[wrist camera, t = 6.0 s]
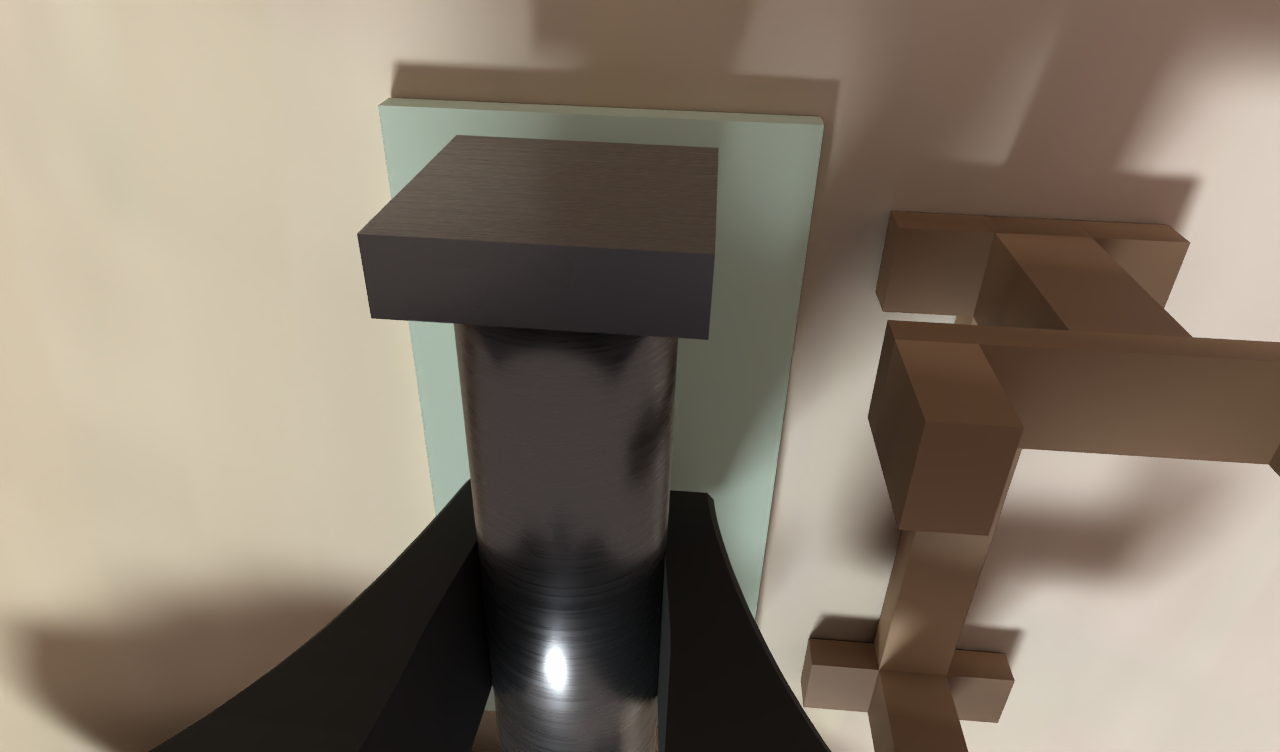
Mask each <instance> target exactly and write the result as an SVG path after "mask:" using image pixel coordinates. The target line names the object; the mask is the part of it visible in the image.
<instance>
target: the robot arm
mask: <svg viewBox="0 0 1280 752" xmlns="http://www.w3.org/2000/svg"><path fill="white" fill-rule="evenodd" d="M492 685H493V682H492V673H491V664H490V655H489V645H488V636H487V627H486V618H485V609H484V599H483V590H482V581H481V572H480V562H479V553H478V544H477V535H476V526H475V516H474V507H473V498H472V489H471V480H470V479H469V480H468V481H466V482H465V484H464V485H463V486H462V487H461V488H460V489H459V491H458V492H457V493H456V494H455V495H454V496H453V498H452V499H451V500H450V501H449V502H448V503H447V504H446V506H445V507H444V508H443V509H442V510H441V511H440V512H439V514H438V515H437V516H436V517H435V518H434V519H433V520H432V521H431V523H430V524H429V525H428V526H427V527H426V528H425V529H424V530H423V531H422V532H421V534H420V535H419V536H418V537H417V538H416V539H415V540H414V541H413V542H412V543H411V544H410V545H409V546H408V547H407V548H406V549H405V550H404V552H403V553H402V554H401V555H400V556H399V557H398V558H397V559H396V560H395V561H394V562H393V563H392V564H391V565H390V566H389V567H388V568H387V569H386V570H385V571H384V572H383V573H382V574H381V575H380V576H379V577H378V578H377V579H376V580H375V581H374V582H373V583H372V584H371V585H370V586H369V587H368V588H367V589H365V590H364V591H363V592H362V593H361V594H360V595H359V596H358V597H357V598H356V599H355V600H354V601H353V602H352V603H351V604H350V605H348V606H347V607H346V608H345V609H344V610H343V611H342V612H341V613H340V614H339V615H338V616H337V617H335V618H334V619H333V620H332V621H331V622H330V623H329V624H327V625H326V626H325V627H324V628H323V629H322V630H320V631H319V632H318V633H317V634H316V635H315V636H313V637H312V638H311V639H310V640H309V641H307V642H306V643H305V644H304V645H302V646H301V647H300V648H299V649H297V650H296V651H295V652H294V653H292V654H291V655H290V656H289V657H287V658H286V659H285V660H284V661H282V662H281V663H280V664H279V665H277V666H276V667H275V668H273V669H272V670H270V671H269V672H268V673H266V674H265V675H264V676H262V677H261V678H260V679H258V680H257V681H255V682H254V683H253V684H251V685H250V686H249V687H247V688H246V689H244V690H243V691H242V692H240V693H239V694H237V695H236V696H235V697H233V698H232V699H230V700H229V701H227V702H226V703H225V704H223V705H222V706H220V707H219V708H217V709H216V710H215V711H213V712H212V713H210V714H209V715H207V716H206V717H204V718H202V719H201V720H199V721H198V722H196V723H195V724H193V725H191V726H190V727H188V728H187V729H185V730H183V731H182V732H180V733H179V734H177V735H175V736H174V737H172V738H171V739H169V740H167V741H166V742H164V743H162V744H161V745H159V746H157V747H156V748H154V749H152V750H151V751H149V752H470V751H471V748H472V745H473V742H474V739H475V736H476V733H477V730H478V727H479V724H480V721H481V718H482V715H483V712H484V709H485V706H486V703H487V700H488V697H489V694H490V691H491V688H492ZM657 700H658V741H659V752H831V751H830V749H829V748H828V747H827V745H826V744H825V742H824V741H823V739H822V738H821V736H820V734H819V733H818V731H817V730H816V728H815V727H814V725H813V724H812V722H811V721H810V719H809V718H808V716H807V714H806V713H805V711H804V710H803V708H802V706H801V705H800V703H799V701H798V700H797V698H796V696H795V695H794V693H793V691H792V690H791V688H790V686H789V685H788V683H787V681H786V680H785V678H784V676H783V674H782V672H781V671H780V669H779V667H778V665H777V663H776V662H775V660H774V658H773V656H772V654H771V652H770V650H769V648H768V646H767V644H766V642H765V640H764V638H763V636H762V634H761V632H760V630H759V628H758V626H757V624H756V622H755V620H754V618H753V615H752V613H751V611H750V609H749V607H748V604H747V602H746V600H745V597H744V595H743V592H742V590H741V588H740V585H739V583H738V581H737V578H736V576H735V573H734V571H733V568H732V565H731V563H730V560H729V557H728V554H727V551H726V548H725V545H724V542H723V539H722V535H721V532H720V528H719V524H718V521H717V516H716V511H715V505H714V499H713V498H712V497H711V496H710V495H709V494H708V493H703V492H689V491H674V490H670V497H669V515H668V533H667V546H666V551H665V563H664V582H663V600H662V619H661V638H660V656H659V675H658V694H657Z"/></svg>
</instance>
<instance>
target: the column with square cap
mask: <svg viewBox="0 0 1280 752" xmlns="http://www.w3.org/2000/svg"><path fill="white" fill-rule="evenodd" d="M718 151H719V148H712V147H692V146H672V145H652V144H632V143H611V142H591V141H571V140H551V139H531V138H511V137H490V136H470V135H456V136H455V137H454V138H453V139H452V140H451V141H450V142H449V143H448V144H447V145H446V146H445V147H444V148H443V149H442V150H441V151H440V152H439V153H438V154H437V155H436V156H435V157H434V158H433V159H432V160H431V161H430V162H429V163H428V164H427V165H426V166H425V167H424V168H423V169H422V170H421V171H420V172H419V173H418V174H417V175H416V176H415V177H414V178H413V179H412V180H411V181H410V182H409V183H408V184H407V185H406V186H405V187H404V188H403V189H402V190H401V191H400V192H399V193H398V194H397V195H396V196H395V197H394V198H393V199H392V200H391V201H390V202H389V203H388V204H387V205H386V206H385V207H384V208H383V209H382V210H381V211H380V212H379V213H378V214H377V215H376V216H375V217H374V218H373V219H372V220H371V221H370V222H369V223H368V224H367V225H366V226H365V227H364V228H363V229H362V230H361V231H360V232H359V233H358V234H357V236H358V242H359V248H360V254H361V259H362V265H363V271H364V277H365V283H366V289H367V295H368V301H369V307H370V313H371V318H376V319H391V320H407V321H422V322H437V323H453V324H454V332H455V341H456V351H457V360H458V369H459V378H460V387H461V397H462V406H463V415H464V424H465V434H466V443H467V452H468V461H469V470H470V480H471V489H472V498H473V507H474V516H475V526H476V535H477V544H478V553H479V562H480V572H481V581H482V590H483V599H484V609H485V618H486V627H487V636H488V645H489V655H490V664H491V673H492V682H493V691H494V701H495V710H496V719H497V728H498V737H499V747H500V752H656V734H657V716H658V700H657V694H658V675H659V656H660V638H661V619H662V600H663V582H664V563H665V551H666V546H667V533H668V515H669V497H670V478H671V460H672V442H673V424H674V405H675V387H676V369H677V350H678V338H685V339H701V340H709V327H710V314H711V301H712V288H713V275H714V262H715V241H716V211H717V181H718Z"/></svg>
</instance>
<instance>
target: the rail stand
mask: <svg viewBox="0 0 1280 752" xmlns="http://www.w3.org/2000/svg"><path fill="white" fill-rule="evenodd" d="M1189 245H1190V242H1189V241H1188V240H1186V239H1185V238H1184V237H1183V236H1181V235H1180V234H1179V233H1178V232H1176V231H1175V230H1174V229H1173V228H1171V227H1170V226H1169V225H1158V224H1138V223H1118V222H1098V221H1078V220H1058V219H1038V218H1018V217H997V216H977V215H957V214H937V213H917V212H897V211H891V214H890V220H889V225H888V230H887V235H886V240H885V246H884V251H883V256H882V261H881V266H880V272H879V277H878V282H877V287H876V295H877V297H878V300H879V303H880V305H881V308H882V311H884V312H902V313H919V314H937V315H955V316H957V317H956V321H955V324H947V323H929V322H912V321H894V320H888V321H887V326H886V331H885V336H884V341H883V346H882V350H881V355H880V360H879V365H878V370H877V375H876V380H875V385H874V389H873V394H872V399H871V404H870V409H869V414H868V420H869V424H870V427H871V431H872V435H873V438H874V442H875V446H876V449H877V453H878V456H879V460H880V464H881V467H882V471H883V475H884V478H885V482H886V486H887V489H888V493H889V497H890V500H891V504H892V508H893V511H894V515H895V519H896V522H897V526H898V529H899V530H902V534H901V538H900V542H899V546H898V550H897V553H896V557H895V561H894V565H893V569H892V573H891V577H890V581H889V585H888V589H887V593H886V597H885V601H884V605H883V609H882V612H881V616H880V620H879V624H878V628H877V632H876V636H875V640H874V644H873V643H860V642H848V641H835V640H822V639H809V640H808V646H807V651H806V656H805V661H804V666H803V672H802V677H801V687H802V697H803V706H804V707H811V708H823V709H835V710H847V711H859V712H868V716H869V722H870V728H871V733H872V739H873V744H874V750H875V752H968V749H967V746H966V742H965V739H964V735H963V732H962V728H961V725H960V721H959V720H968V721H981V722H993V723H998V721H999V719H1000V716H1001V714H1002V711H1003V709H1004V706H1005V704H1006V701H1007V699H1008V696H1009V694H1010V691H1011V689H1012V686H1013V684H1014V678H1013V675H1012V672H1011V670H1010V667H1009V664H1008V661H1007V659H1006V656H1005V654H1002V653H989V652H976V651H963V650H955V648H956V645H957V642H958V639H959V636H960V633H961V630H962V627H963V624H964V621H965V618H966V615H967V612H968V609H969V606H970V603H971V600H972V597H973V594H974V591H975V588H976V585H977V582H978V579H979V576H980V573H981V570H982V567H983V564H984V561H985V558H986V555H987V552H988V549H989V546H990V543H991V540H992V537H993V534H994V531H995V528H996V525H997V522H998V519H999V516H1000V513H1001V510H1002V507H1003V504H1004V501H1005V498H1006V495H1007V492H1008V489H1009V486H1010V483H1011V480H1012V477H1013V474H1014V471H1015V468H1016V465H1017V462H1018V459H1019V456H1020V453H1021V450H1022V449H1038V450H1053V451H1069V452H1084V453H1100V454H1115V455H1131V456H1146V457H1162V458H1177V459H1193V460H1208V461H1223V462H1239V463H1254V464H1269V465H1270V467H1271V468H1272V469H1273V470H1274V471H1275V472H1276V473H1277V474H1278V475H1279V476H1280V342H1264V341H1246V340H1228V339H1211V338H1193V337H1192V336H1191V335H1190V334H1189V333H1188V332H1187V331H1186V330H1185V329H1184V328H1183V327H1182V326H1181V325H1180V324H1179V323H1178V322H1177V321H1176V320H1175V319H1174V318H1173V317H1172V316H1171V315H1170V314H1169V313H1168V312H1167V311H1166V310H1165V309H1164V307H1165V305H1166V302H1167V300H1168V297H1169V295H1170V292H1171V290H1172V287H1173V285H1174V282H1175V280H1176V277H1177V275H1178V272H1179V270H1180V267H1181V265H1182V262H1183V260H1184V257H1185V255H1186V252H1187V250H1188V247H1189Z"/></svg>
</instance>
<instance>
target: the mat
mask: <svg viewBox="0 0 1280 752" xmlns="http://www.w3.org/2000/svg"><path fill="white" fill-rule="evenodd" d="M378 107H379V114H380V121H381V128H382V135H383V142H384V149H385V157H386V164H387V171H388V178H389V185H390V192H391V199H393V198H394V197H395V196H396V195H397V194H398V193H399V192H400V191H401V190H402V189H403V188H404V187H405V186H406V185H407V184H408V183H409V182H410V181H411V180H412V179H413V178H414V177H415V176H416V175H417V174H418V173H419V172H420V171H421V170H422V169H423V168H424V167H425V166H426V165H427V164H428V163H429V162H430V161H431V160H432V159H433V158H434V157H435V156H436V155H437V154H438V153H439V152H440V151H441V150H442V149H443V148H444V147H445V146H446V145H447V144H448V143H449V142H450V141H451V140H452V139H453V138H454V137H455V136H456V135H470V136H490V137H511V138H531V139H551V140H571V141H591V142H611V143H632V144H652V145H672V146H692V147H712V148H719V151H718V181H717V211H716V241H715V262H714V275H713V288H712V301H711V314H710V327H709V340H701V339H685V338H678V350H677V369H676V387H675V405H674V424H673V442H672V460H671V478H670V490H674V491H689V492H703V493H708V494H709V495H710V496H711V497H712V498H713V499H714V505H715V511H716V516H717V521H718V524H719V528H720V532H721V535H722V539H723V542H724V545H725V548H726V551H727V554H728V557H729V560H730V563H731V565H732V568H733V571H734V573H735V576H736V578H737V581H738V583H739V585H740V588H741V590H742V592H743V595H744V597H745V600H746V602H747V604H748V607H749V609H750V611H751V613H752V615H753V618H754V620H755V617H756V610H757V603H758V596H759V589H760V581H761V574H762V567H763V560H764V553H765V546H766V539H767V531H768V524H769V517H770V510H771V503H772V496H773V488H774V481H775V474H776V467H777V460H778V453H779V445H780V438H781V431H782V424H783V417H784V410H785V403H786V395H787V388H788V381H789V374H790V367H791V360H792V352H793V345H794V338H795V331H796V324H797V317H798V309H799V302H800V295H801V288H802V281H803V274H804V267H805V259H806V252H807V245H808V238H809V231H810V224H811V216H812V209H813V202H814V195H815V188H816V181H817V173H818V166H819V159H820V152H821V145H822V138H823V131H824V123H823V121H822V118H821V117H815V116H793V115H770V114H747V113H724V112H701V111H678V110H656V109H633V108H610V107H587V106H564V105H541V104H519V103H496V102H473V101H450V100H427V99H404V98H388V99H387V100H385V101H384V102H382V103H381V104H380V105H378ZM409 327H410V334H411V342H412V349H413V356H414V363H415V370H416V377H417V384H418V391H419V398H420V406H421V413H422V420H423V427H424V434H425V441H426V448H427V455H428V463H429V470H430V477H431V484H432V491H433V498H434V505H435V512H436V516H437V515H438V514H439V512H440V511H441V510H442V509H443V508H444V507H445V506H446V504H447V503H448V502H449V501H450V500H451V499H452V498H453V496H454V495H455V494H456V493H457V492H458V491H459V489H460V488H461V487H462V486H463V485H464V484H465V482H466V481H468V480H469V479H470V470H469V461H468V452H467V443H466V434H465V424H464V415H463V406H462V397H461V387H460V378H459V369H458V360H457V351H456V341H455V332H454V324H453V323H437V322H422V321H409ZM484 711H496V710H495V701H494V691H493V685H492V688H491V691H490V694H489V697H488V700H487V703H486V706H485V709H484ZM657 725H658V716H657Z"/></svg>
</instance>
